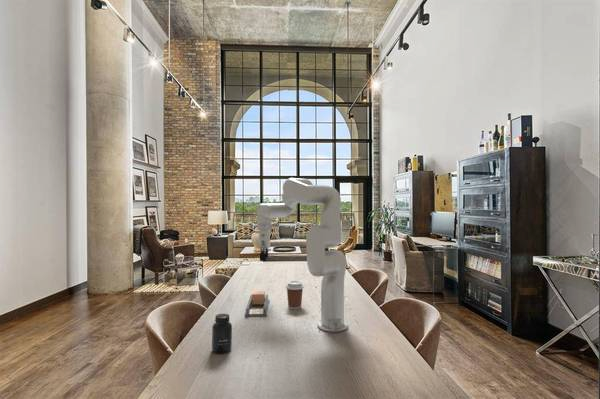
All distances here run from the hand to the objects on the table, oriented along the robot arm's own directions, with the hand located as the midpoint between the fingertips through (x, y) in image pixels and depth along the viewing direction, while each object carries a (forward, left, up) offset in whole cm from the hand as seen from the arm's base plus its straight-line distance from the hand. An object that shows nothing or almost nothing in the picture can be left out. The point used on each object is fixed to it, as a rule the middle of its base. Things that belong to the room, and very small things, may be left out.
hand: (264, 259), depth 175 cm
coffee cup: (-13, -16, -22) cm, 30 cm away
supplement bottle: (-59, +11, -22) cm, 63 cm away
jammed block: (-10, +2, -20) cm, 22 cm away
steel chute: (-15, +2, -21) cm, 26 cm away
